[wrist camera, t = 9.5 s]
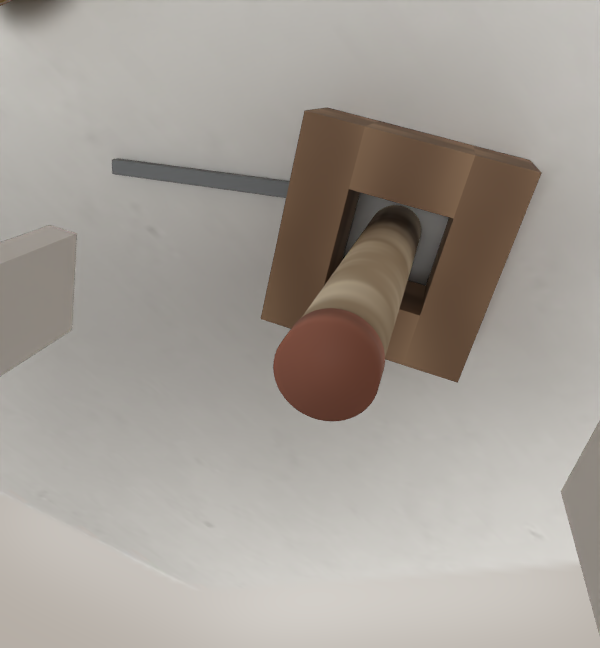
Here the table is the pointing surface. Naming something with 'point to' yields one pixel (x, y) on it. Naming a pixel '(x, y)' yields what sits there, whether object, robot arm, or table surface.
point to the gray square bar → (201, 177)
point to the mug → (2, 0)
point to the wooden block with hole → (412, 190)
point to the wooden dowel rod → (350, 323)
